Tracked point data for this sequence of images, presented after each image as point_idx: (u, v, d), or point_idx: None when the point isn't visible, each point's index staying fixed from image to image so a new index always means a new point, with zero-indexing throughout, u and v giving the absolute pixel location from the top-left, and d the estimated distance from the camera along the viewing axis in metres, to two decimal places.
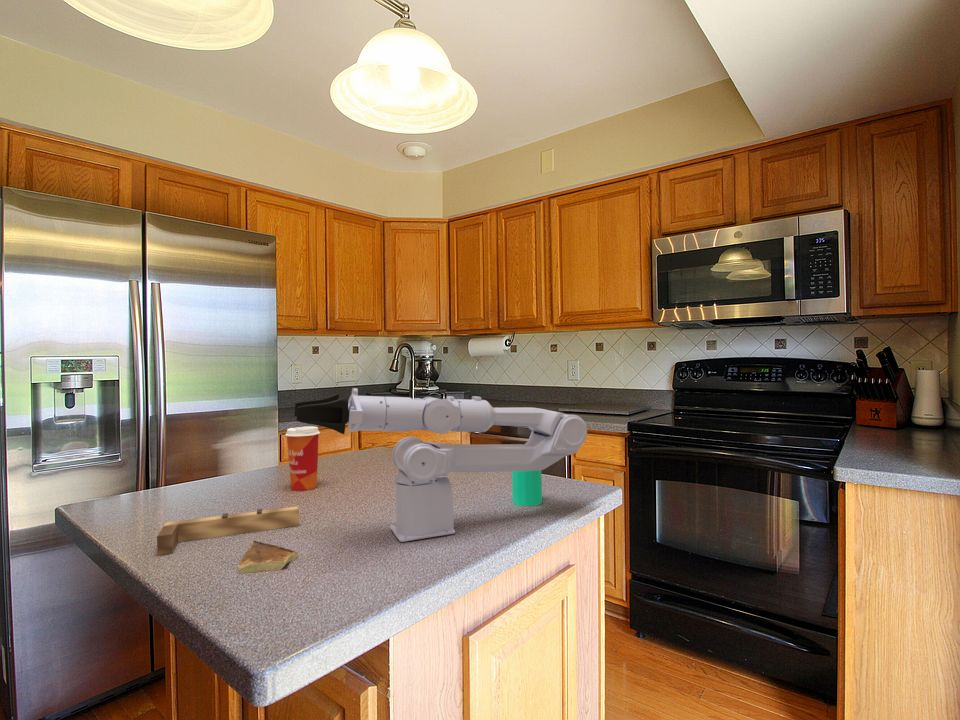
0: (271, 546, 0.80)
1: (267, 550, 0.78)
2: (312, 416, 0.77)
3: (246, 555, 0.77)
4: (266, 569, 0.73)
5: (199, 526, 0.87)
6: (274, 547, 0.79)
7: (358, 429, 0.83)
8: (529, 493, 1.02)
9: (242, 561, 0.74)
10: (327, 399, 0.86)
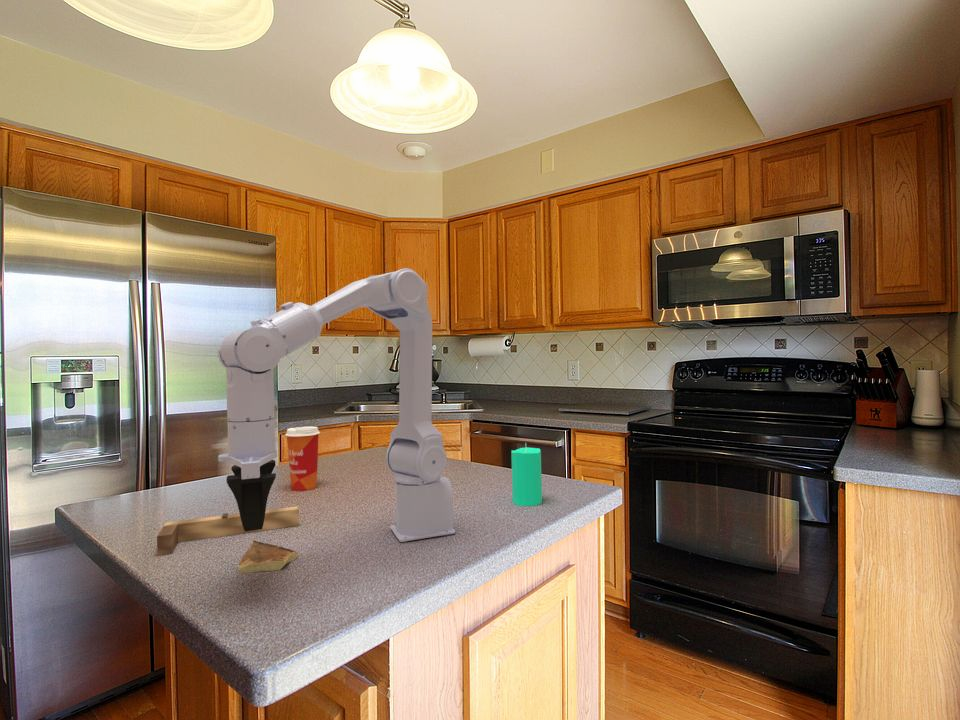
0: (271, 546, 0.80)
1: (266, 550, 0.78)
2: (255, 512, 0.65)
3: (246, 555, 0.77)
4: (266, 569, 0.73)
5: (199, 526, 0.87)
6: (274, 547, 0.79)
7: (272, 449, 0.68)
8: (529, 493, 1.02)
9: (242, 561, 0.74)
10: None
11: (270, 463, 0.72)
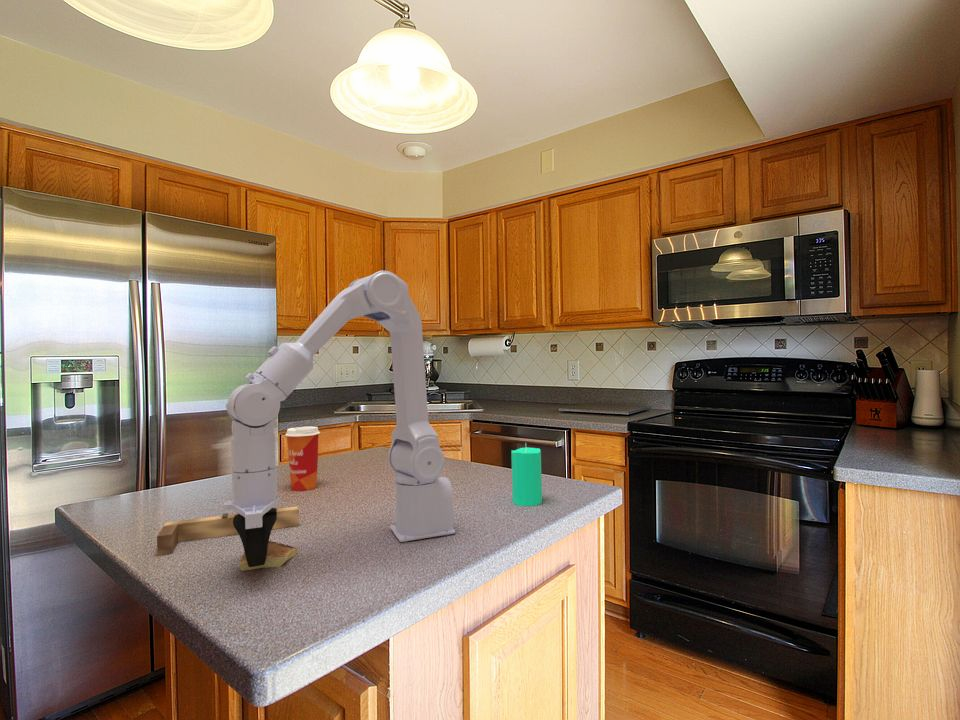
0: (271, 542, 0.81)
1: None
2: (258, 550, 0.72)
3: None
4: (267, 565, 0.74)
5: (199, 526, 0.87)
6: (274, 543, 0.80)
7: (274, 496, 0.73)
8: (529, 493, 1.02)
9: (243, 557, 0.75)
10: None
11: (271, 512, 0.74)
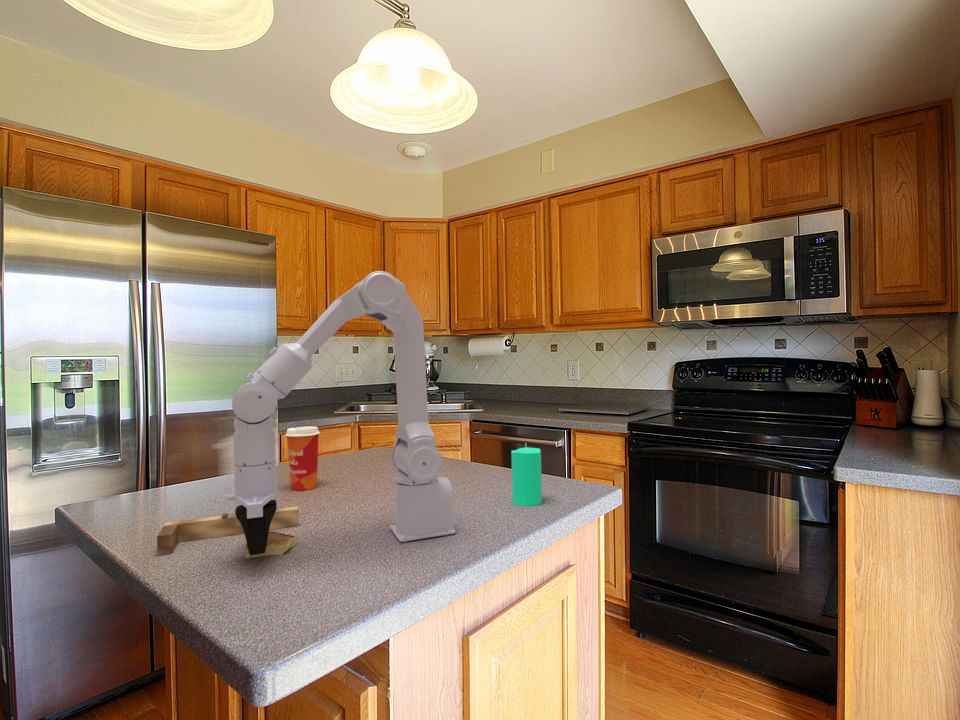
0: (272, 532, 0.85)
1: (269, 536, 0.83)
2: (259, 539, 0.77)
3: None
4: (270, 552, 0.79)
5: (199, 526, 0.87)
6: (275, 533, 0.85)
7: (273, 488, 0.77)
8: (529, 493, 1.02)
9: None
10: None
11: (271, 504, 0.79)
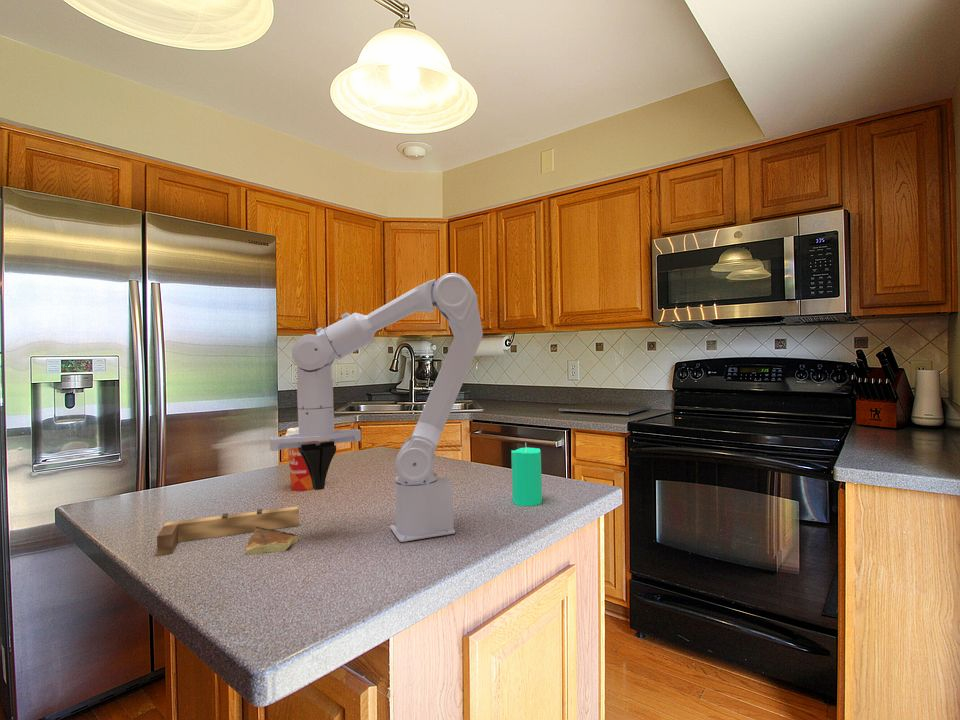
0: (274, 531, 0.87)
1: (270, 534, 0.85)
2: (313, 476, 0.86)
3: (251, 538, 0.83)
4: (271, 550, 0.80)
5: (199, 526, 0.87)
6: (277, 532, 0.86)
7: (312, 433, 0.84)
8: (529, 493, 1.02)
9: (249, 544, 0.81)
10: None
11: (322, 448, 0.85)
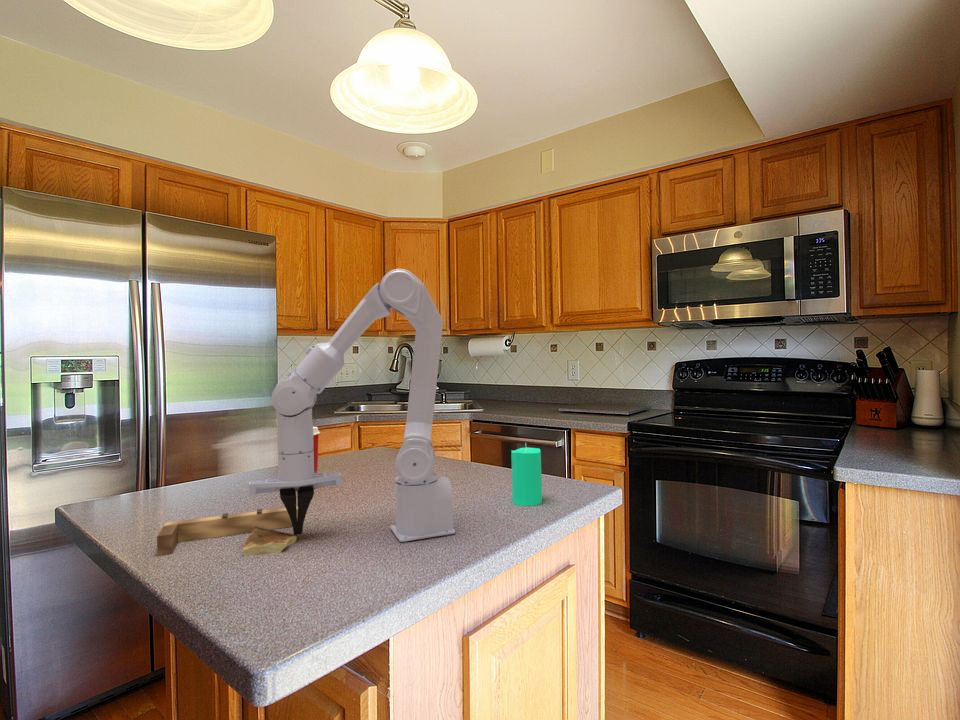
0: (272, 531, 0.86)
1: (268, 535, 0.84)
2: None
3: (249, 538, 0.83)
4: (268, 551, 0.80)
5: (199, 526, 0.87)
6: (274, 532, 0.86)
7: (288, 479, 0.83)
8: (529, 493, 1.02)
9: (246, 544, 0.81)
10: None
11: (298, 493, 0.84)
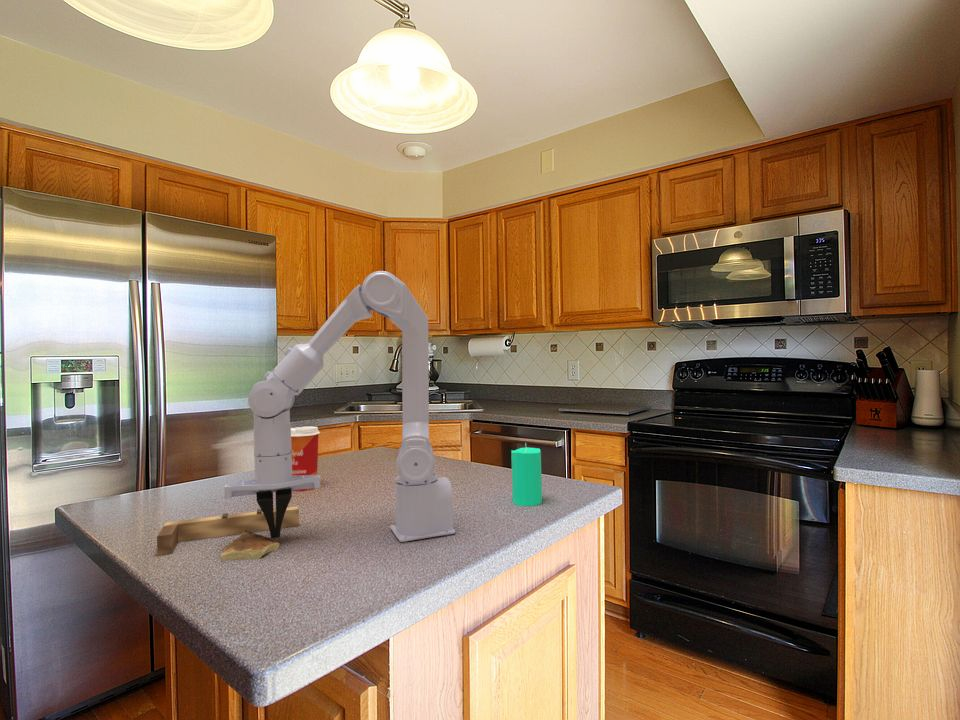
0: (258, 536, 0.85)
1: (252, 540, 0.82)
2: None
3: (232, 543, 0.82)
4: (246, 557, 0.78)
5: (199, 526, 0.87)
6: (260, 537, 0.84)
7: (265, 481, 0.82)
8: (529, 493, 1.02)
9: (226, 549, 0.79)
10: None
11: (276, 496, 0.83)
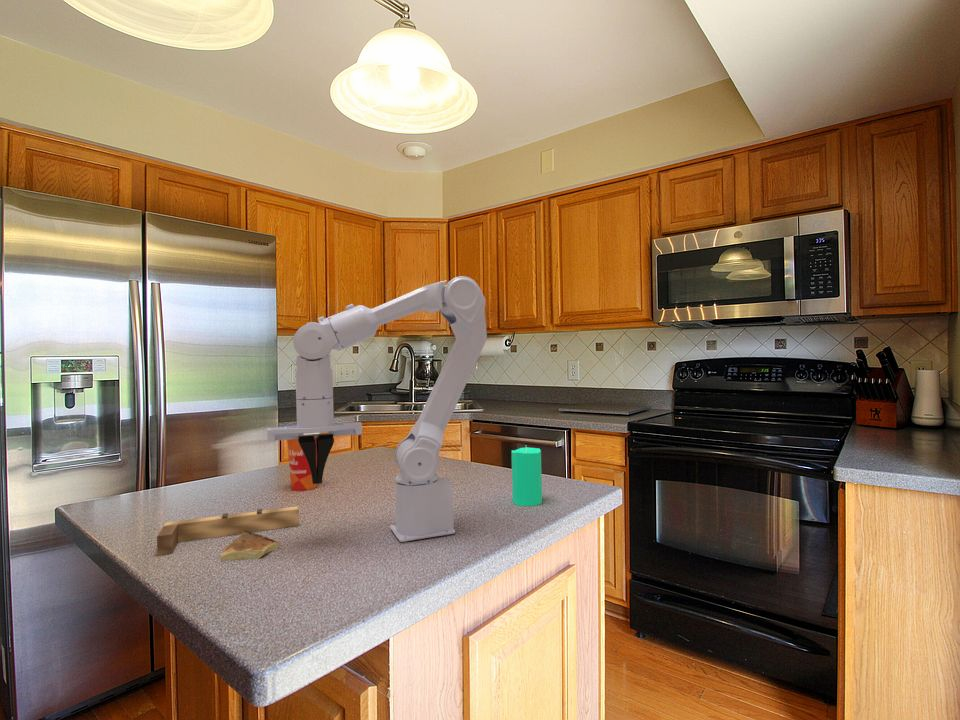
0: (258, 536, 0.85)
1: (251, 540, 0.82)
2: None
3: (232, 543, 0.82)
4: (246, 557, 0.78)
5: (199, 526, 0.87)
6: (260, 537, 0.84)
7: (308, 425, 0.81)
8: (529, 493, 1.02)
9: (226, 549, 0.79)
10: None
11: None
